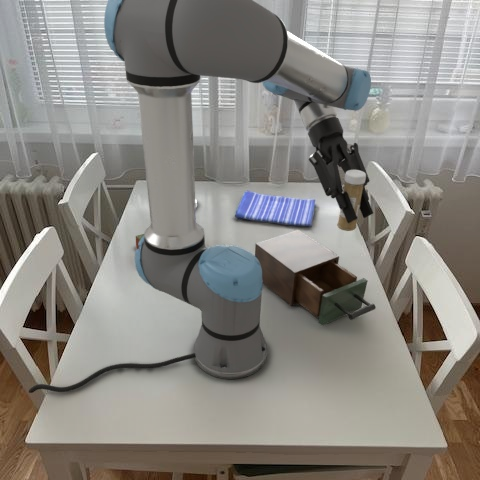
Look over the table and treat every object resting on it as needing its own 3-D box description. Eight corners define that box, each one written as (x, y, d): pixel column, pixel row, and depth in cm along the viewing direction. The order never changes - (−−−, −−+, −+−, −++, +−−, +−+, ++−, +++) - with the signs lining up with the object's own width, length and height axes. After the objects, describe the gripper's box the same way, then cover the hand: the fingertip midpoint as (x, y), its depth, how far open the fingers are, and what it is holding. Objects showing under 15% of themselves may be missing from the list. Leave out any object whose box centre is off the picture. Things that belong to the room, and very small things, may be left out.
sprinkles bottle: (360, 228, 117) (370, 174, 108) (345, 233, 115) (355, 178, 106) (346, 221, 120) (356, 167, 111) (332, 225, 117) (341, 171, 109)
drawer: (380, 321, 112) (387, 293, 107) (339, 340, 106) (345, 311, 101) (321, 278, 125) (325, 252, 120) (282, 293, 119) (284, 266, 114)
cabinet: (333, 289, 123) (339, 256, 117) (291, 306, 117) (294, 272, 111) (295, 261, 133) (298, 229, 127) (253, 275, 127) (255, 243, 121)
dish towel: (244, 196, 164) (245, 188, 162) (315, 204, 160) (316, 196, 158) (233, 220, 151) (233, 211, 149) (310, 229, 147) (311, 220, 145)
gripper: (301, 121, 105) (342, 221, 105) (359, 110, 113) (398, 203, 113) (284, 138, 112) (322, 233, 112) (340, 127, 120) (376, 215, 119)
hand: (360, 218), depth 112 cm, fingers closed on sprinkles bottle, 4 cm apart
